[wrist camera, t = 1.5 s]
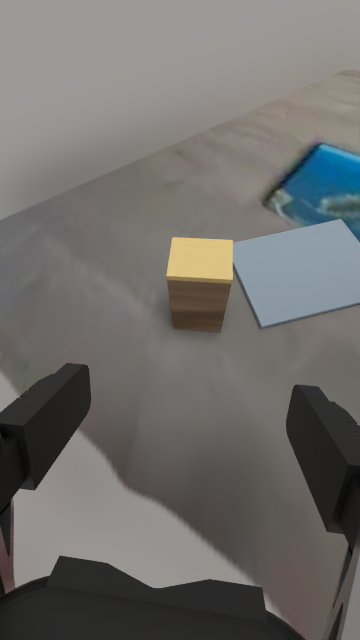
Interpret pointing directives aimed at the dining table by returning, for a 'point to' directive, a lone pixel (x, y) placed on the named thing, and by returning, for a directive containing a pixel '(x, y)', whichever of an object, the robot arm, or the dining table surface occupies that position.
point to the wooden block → (199, 282)
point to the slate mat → (299, 272)
